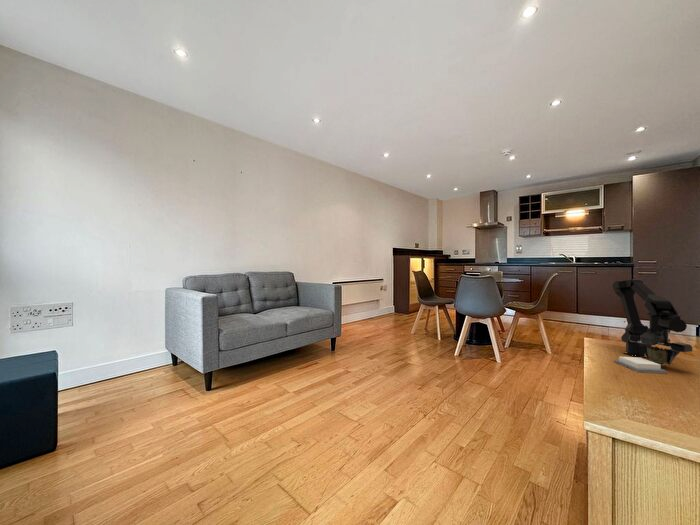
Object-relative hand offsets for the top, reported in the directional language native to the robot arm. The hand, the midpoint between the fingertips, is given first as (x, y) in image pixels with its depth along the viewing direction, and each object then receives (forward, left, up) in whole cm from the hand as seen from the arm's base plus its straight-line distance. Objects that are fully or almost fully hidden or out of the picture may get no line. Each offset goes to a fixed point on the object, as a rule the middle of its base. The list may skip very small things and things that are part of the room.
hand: (658, 361), depth 123 cm
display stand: (+4, -12, -2) cm, 12 cm away
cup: (0, 0, -2) cm, 2 cm away
